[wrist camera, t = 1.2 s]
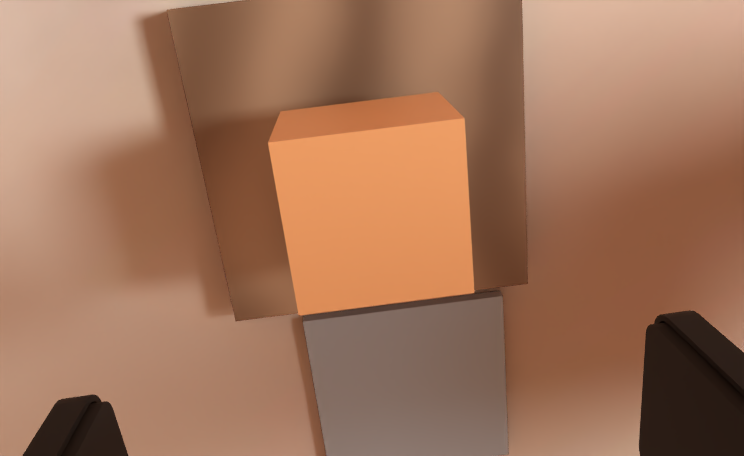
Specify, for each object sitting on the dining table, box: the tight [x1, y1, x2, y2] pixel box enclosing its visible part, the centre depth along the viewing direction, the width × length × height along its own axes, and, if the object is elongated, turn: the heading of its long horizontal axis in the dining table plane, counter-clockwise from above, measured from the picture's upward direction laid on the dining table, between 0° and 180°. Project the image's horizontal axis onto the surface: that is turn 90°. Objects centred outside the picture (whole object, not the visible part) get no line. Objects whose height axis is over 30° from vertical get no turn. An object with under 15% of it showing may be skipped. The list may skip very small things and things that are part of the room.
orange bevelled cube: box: [268, 92, 474, 316], centre depth 22 cm, size 6×6×5 cm
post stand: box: [167, 0, 528, 321], centre depth 24 cm, size 14×14×8 cm
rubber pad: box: [303, 290, 509, 456], centre depth 33 cm, size 10×10×1 cm
